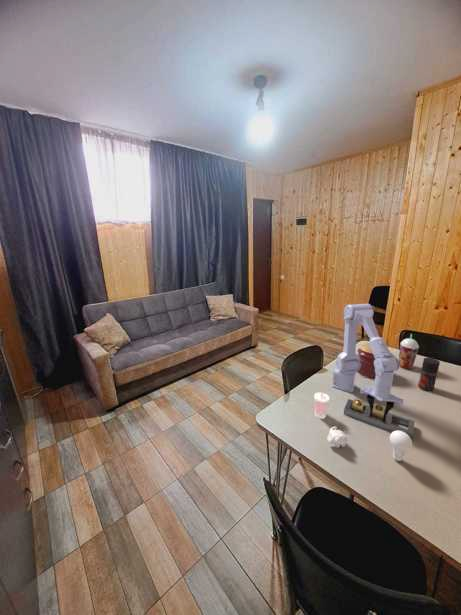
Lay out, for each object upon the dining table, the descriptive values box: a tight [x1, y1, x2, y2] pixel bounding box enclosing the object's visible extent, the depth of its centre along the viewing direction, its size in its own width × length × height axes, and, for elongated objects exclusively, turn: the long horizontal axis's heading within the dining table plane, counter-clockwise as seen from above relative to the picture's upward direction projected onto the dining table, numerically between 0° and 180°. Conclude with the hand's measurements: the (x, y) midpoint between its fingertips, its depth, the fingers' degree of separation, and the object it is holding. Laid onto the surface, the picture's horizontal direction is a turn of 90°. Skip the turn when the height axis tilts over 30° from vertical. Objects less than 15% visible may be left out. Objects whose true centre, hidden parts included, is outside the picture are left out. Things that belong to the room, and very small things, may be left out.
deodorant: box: [417, 357, 440, 393], centre depth 118 cm, size 6×6×15 cm
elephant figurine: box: [326, 425, 350, 449], centre depth 89 cm, size 7×8×6 cm
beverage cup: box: [313, 385, 330, 419], centre depth 103 cm, size 6×6×14 cm
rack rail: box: [343, 398, 415, 441], centre depth 101 cm, size 24×8×2 cm, turn 53°
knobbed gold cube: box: [371, 402, 386, 421], centre depth 100 cm, size 4×4×6 cm
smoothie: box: [398, 333, 420, 370], centre depth 136 cm, size 8×8×20 cm
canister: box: [356, 342, 376, 379], centre depth 133 cm, size 13×13×18 cm
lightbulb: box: [389, 430, 413, 462], centre depth 82 cm, size 6×6×11 cm
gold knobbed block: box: [351, 398, 366, 414], centre depth 105 cm, size 4×4×6 cm
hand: (378, 413), depth 100 cm, fingers closed on knobbed gold cube, 4 cm apart
